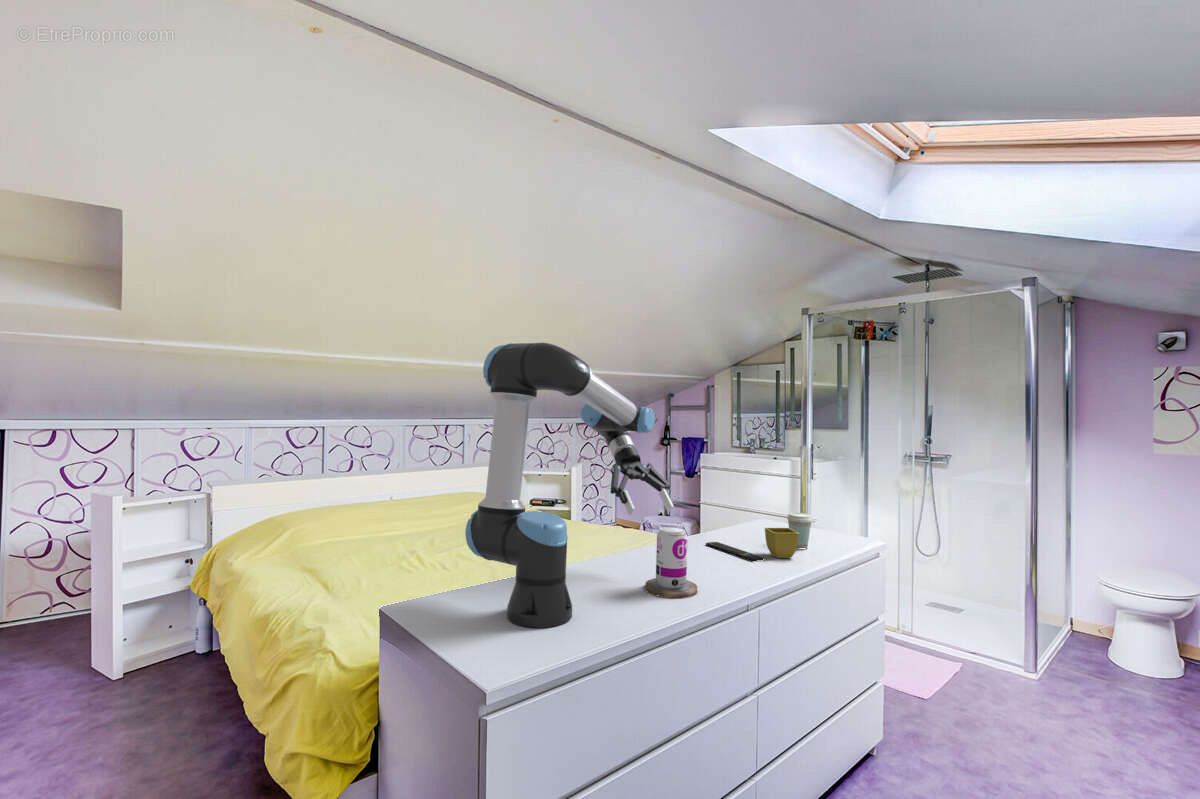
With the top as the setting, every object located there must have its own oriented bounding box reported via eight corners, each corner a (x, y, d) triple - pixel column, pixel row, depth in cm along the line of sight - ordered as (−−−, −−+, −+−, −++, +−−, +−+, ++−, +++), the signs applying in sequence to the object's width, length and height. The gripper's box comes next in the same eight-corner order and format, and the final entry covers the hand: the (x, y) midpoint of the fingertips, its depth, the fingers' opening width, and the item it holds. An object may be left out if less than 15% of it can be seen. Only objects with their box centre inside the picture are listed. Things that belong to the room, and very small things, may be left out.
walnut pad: (666, 601, 146) (666, 596, 146) (635, 585, 158) (635, 581, 158) (708, 593, 153) (708, 588, 154) (675, 579, 166) (675, 574, 166)
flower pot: (763, 553, 199) (764, 527, 199) (787, 553, 200) (788, 527, 200) (773, 560, 190) (774, 532, 190) (799, 560, 191) (799, 533, 191)
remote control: (752, 563, 187) (752, 559, 187) (704, 546, 208) (704, 542, 208) (764, 561, 189) (764, 557, 189) (716, 545, 210) (716, 541, 210)
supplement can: (692, 586, 155) (693, 530, 155) (669, 591, 150) (670, 533, 150) (672, 578, 162) (673, 525, 162) (649, 583, 157) (651, 528, 157)
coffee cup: (807, 545, 212) (808, 512, 212) (814, 551, 203) (815, 517, 204) (784, 544, 213) (785, 511, 213) (789, 549, 204) (790, 516, 204)
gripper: (652, 460, 186) (679, 515, 173) (585, 462, 173) (609, 520, 160) (662, 445, 182) (691, 500, 168) (594, 445, 169) (620, 504, 156)
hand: (651, 510), depth 164 cm, fingers open, 13 cm apart
